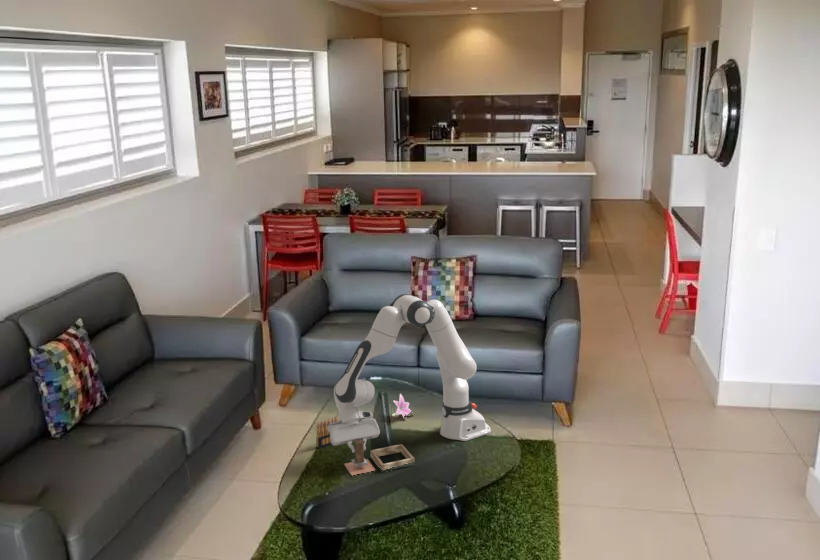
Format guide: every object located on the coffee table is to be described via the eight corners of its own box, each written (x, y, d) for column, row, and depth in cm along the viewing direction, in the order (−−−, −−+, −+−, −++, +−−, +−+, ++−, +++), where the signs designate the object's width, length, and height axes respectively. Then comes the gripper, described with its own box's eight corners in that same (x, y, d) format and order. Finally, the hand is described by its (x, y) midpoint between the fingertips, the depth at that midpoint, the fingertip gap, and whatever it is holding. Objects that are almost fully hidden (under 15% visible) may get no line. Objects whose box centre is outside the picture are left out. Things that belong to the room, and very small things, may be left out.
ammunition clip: (318, 449, 316) (317, 423, 313) (316, 447, 318) (314, 421, 315) (340, 442, 322) (339, 416, 319) (338, 440, 324) (336, 415, 321)
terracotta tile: (367, 460, 306) (367, 458, 306) (375, 471, 297) (375, 469, 297) (344, 464, 302) (344, 463, 302) (351, 476, 293) (351, 474, 293)
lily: (392, 426, 339) (401, 410, 335) (381, 408, 347) (390, 393, 343) (412, 426, 346) (421, 411, 343) (400, 409, 354) (409, 394, 351)
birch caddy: (402, 450, 313) (401, 443, 313) (414, 465, 301) (414, 458, 300) (370, 456, 308) (370, 450, 308) (382, 472, 296) (381, 465, 295)
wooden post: (363, 459, 302) (362, 437, 300) (367, 464, 298) (366, 442, 295) (351, 461, 300) (350, 440, 298) (355, 467, 296) (354, 445, 293)
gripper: (327, 420, 298) (335, 453, 291) (375, 411, 305) (384, 443, 299) (325, 426, 303) (333, 458, 296) (372, 417, 310) (381, 449, 304)
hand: (359, 451), depth 297 cm, fingers closed on wooden post, 2 cm apart
